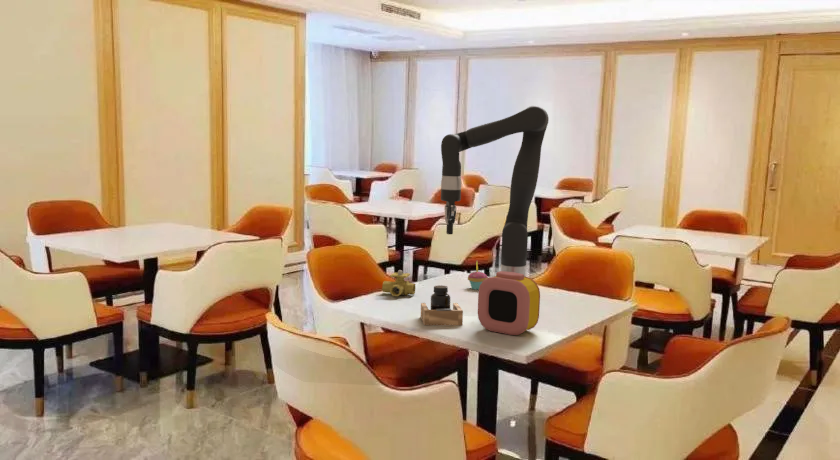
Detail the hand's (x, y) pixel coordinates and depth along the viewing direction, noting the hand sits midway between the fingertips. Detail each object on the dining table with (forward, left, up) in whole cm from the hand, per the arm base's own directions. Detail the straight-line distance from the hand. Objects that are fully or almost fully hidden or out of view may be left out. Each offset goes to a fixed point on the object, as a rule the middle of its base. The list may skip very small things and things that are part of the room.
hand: (449, 234), depth 276 cm
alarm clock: (-21, +35, -27) cm, 49 cm away
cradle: (+2, +25, -27) cm, 37 cm away
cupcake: (-12, -32, -27) cm, 44 cm away
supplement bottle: (+2, +25, -27) cm, 37 cm away
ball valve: (+20, -12, -27) cm, 36 cm away
